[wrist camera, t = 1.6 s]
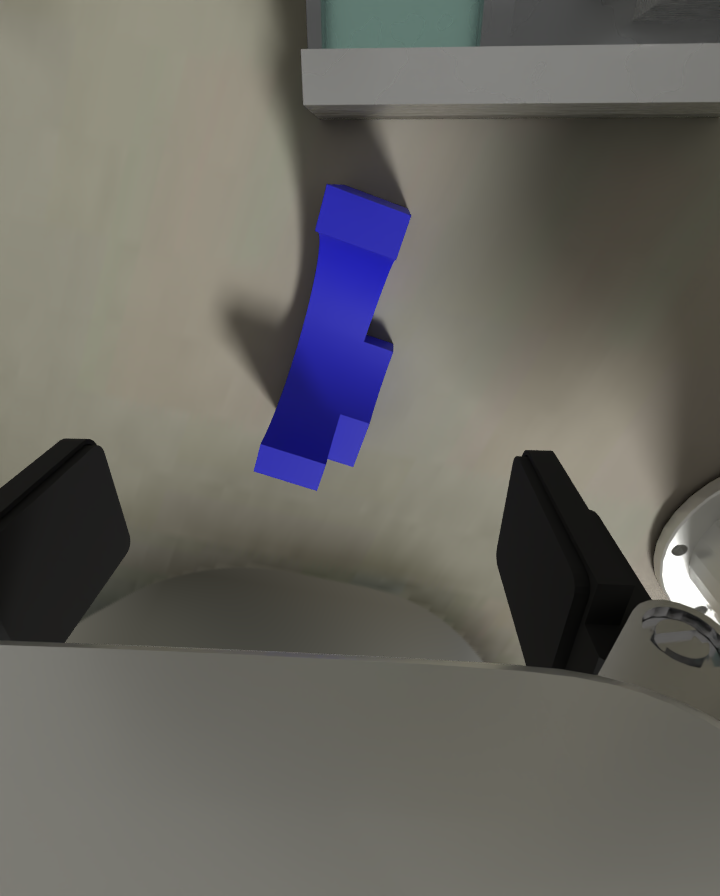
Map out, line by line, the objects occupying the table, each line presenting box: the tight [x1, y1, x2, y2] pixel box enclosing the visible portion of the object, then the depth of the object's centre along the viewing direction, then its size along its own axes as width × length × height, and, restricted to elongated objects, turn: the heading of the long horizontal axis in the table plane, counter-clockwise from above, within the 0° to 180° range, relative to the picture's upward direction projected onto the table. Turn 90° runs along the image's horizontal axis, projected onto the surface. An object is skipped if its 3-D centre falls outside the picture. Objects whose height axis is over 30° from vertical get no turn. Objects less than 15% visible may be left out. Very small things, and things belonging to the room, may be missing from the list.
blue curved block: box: [254, 184, 411, 491], centre depth 22 cm, size 12×4×6 cm, turn 162°
